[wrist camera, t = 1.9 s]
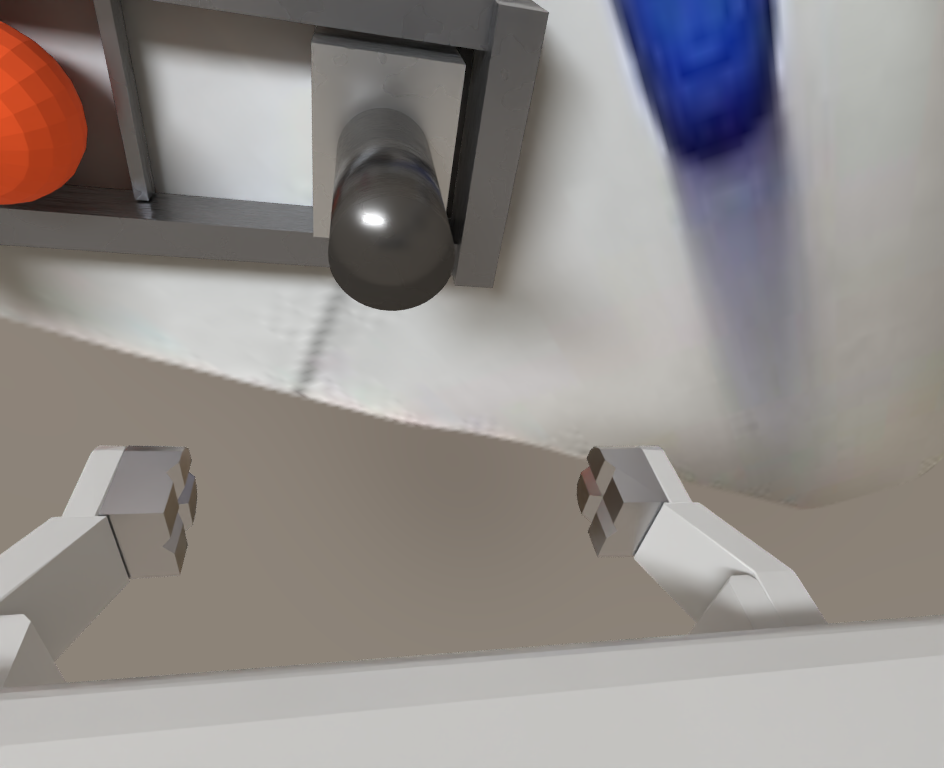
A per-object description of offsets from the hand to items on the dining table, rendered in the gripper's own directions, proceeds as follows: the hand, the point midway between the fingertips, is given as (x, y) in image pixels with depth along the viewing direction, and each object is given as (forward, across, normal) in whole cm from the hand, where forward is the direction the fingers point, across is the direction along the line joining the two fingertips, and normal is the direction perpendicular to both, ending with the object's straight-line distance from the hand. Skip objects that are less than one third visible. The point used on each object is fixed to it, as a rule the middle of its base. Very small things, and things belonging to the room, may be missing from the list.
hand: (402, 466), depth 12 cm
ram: (+22, 0, 0) cm, 22 cm away
